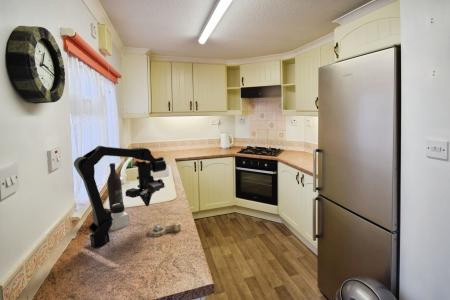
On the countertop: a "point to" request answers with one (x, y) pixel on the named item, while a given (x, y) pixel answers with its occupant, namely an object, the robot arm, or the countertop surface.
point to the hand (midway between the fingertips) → (147, 206)
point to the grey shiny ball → (157, 228)
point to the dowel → (176, 228)
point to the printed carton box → (119, 217)
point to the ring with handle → (164, 229)
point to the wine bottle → (114, 187)
